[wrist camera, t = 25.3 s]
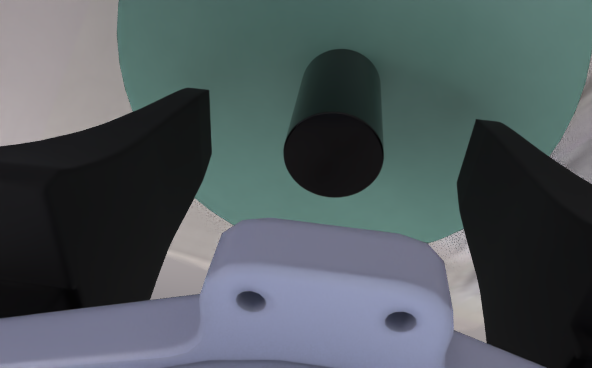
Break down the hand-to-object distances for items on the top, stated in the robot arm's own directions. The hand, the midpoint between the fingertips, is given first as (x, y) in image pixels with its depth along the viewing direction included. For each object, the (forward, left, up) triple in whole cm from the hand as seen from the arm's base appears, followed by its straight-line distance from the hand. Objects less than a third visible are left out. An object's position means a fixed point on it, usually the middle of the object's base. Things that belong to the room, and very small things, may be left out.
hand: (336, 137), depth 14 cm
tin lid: (0, 0, -4) cm, 4 cm away
